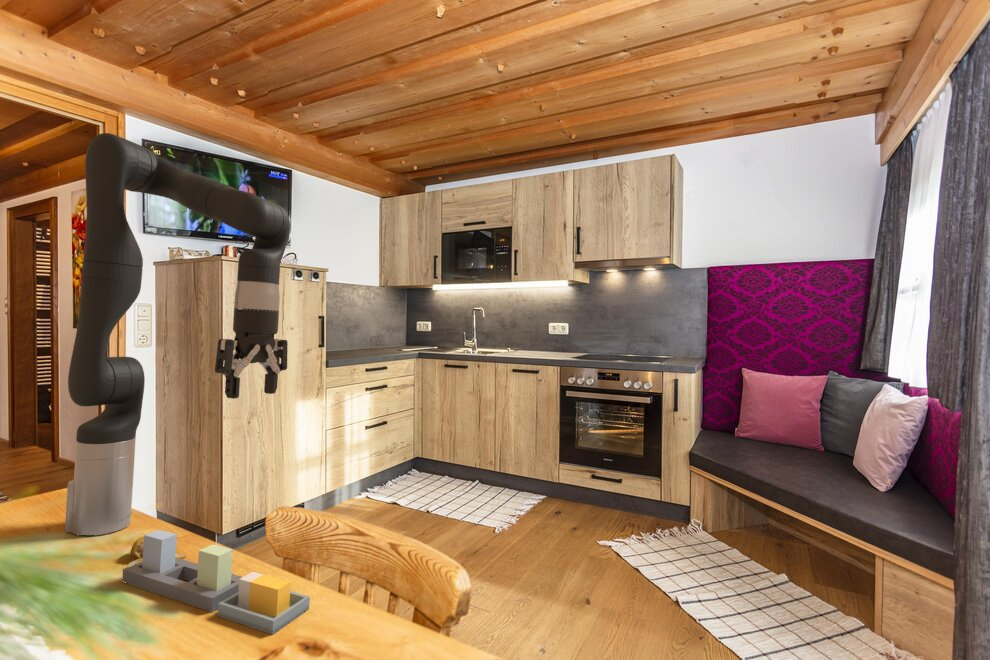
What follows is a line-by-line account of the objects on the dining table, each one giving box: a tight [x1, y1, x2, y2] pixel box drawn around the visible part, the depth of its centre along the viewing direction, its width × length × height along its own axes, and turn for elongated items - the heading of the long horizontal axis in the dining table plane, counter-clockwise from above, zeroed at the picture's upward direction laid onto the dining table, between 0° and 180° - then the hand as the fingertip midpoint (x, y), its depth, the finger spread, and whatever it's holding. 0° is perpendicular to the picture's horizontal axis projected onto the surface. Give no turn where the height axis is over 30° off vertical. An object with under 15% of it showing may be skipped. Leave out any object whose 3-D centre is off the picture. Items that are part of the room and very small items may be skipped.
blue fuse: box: [142, 529, 178, 574], centre depth 80 cm, size 4×2×7 cm, turn 70°
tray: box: [217, 590, 311, 635], centre depth 73 cm, size 10×7×2 cm
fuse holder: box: [121, 556, 243, 613], centre depth 78 cm, size 19×6×2 cm, turn 69°
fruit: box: [126, 536, 186, 568], centre depth 87 cm, size 8×8×4 cm
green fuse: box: [197, 544, 234, 592], centre depth 76 cm, size 4×2×7 cm, turn 69°
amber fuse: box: [238, 571, 292, 618], centre depth 73 cm, size 4×2×7 cm
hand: (251, 395), depth 93 cm, fingers open, 8 cm apart
